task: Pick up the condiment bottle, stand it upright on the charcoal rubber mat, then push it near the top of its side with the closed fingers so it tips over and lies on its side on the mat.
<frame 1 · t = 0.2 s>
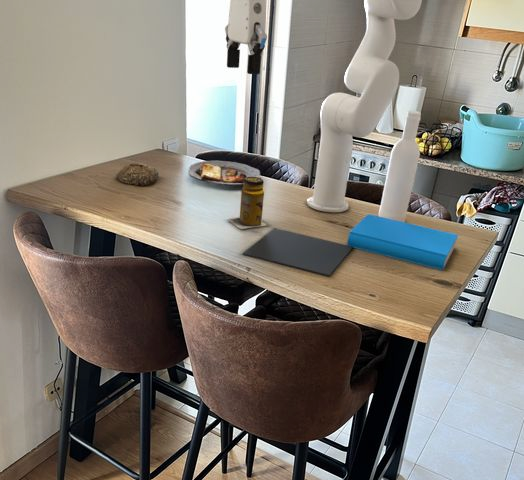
hand: (242, 70, 135), 37 cm above the table, tool pointing down, fingers open, 9 cm apart
mat: (299, 251, 140), on the table
bread roll: (137, 180, 178), on the table
bottle: (390, 221, 165), on the table
book: (401, 248, 148), on the table
food plate: (224, 179, 186), on the table
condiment: (247, 223, 153), on the table
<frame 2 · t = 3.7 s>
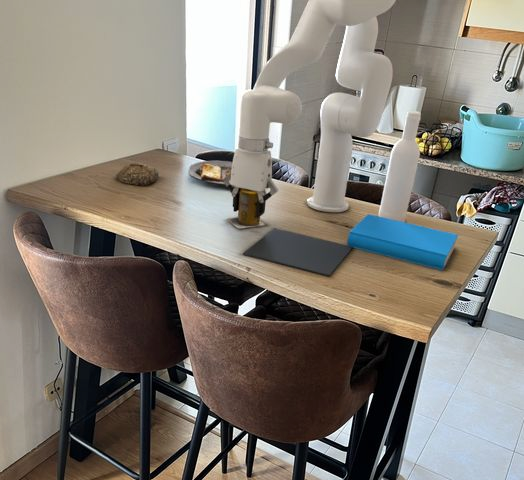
hand: (248, 212, 152), 3 cm above the table, tool pointing down, fingers closed on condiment, 6 cm apart
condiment: (245, 223, 154), on the table, touching gripper
everything else where it was.
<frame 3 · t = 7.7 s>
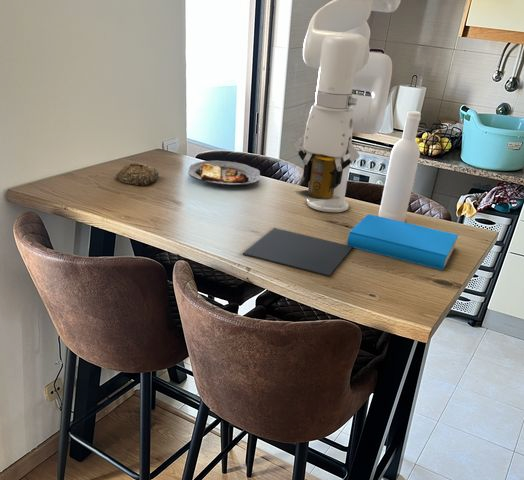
hand: (321, 183, 131), 17 cm above the table, tool pointing down, fingers closed on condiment, 6 cm apart
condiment: (316, 196, 133), point 14 cm above the table, touching gripper
everything else where it was.
when the fingers open (3 cm above the table, at t = 11.5 s): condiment stays where it is, resting on mat.
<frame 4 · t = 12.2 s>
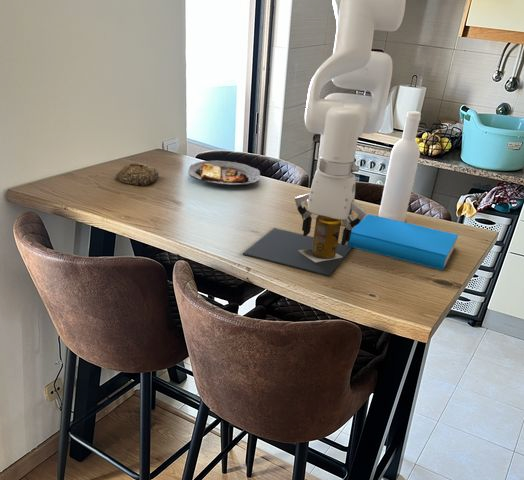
hand: (325, 238, 136), 5 cm above the table, tool pointing down, fingers open, 9 cm apart
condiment: (320, 255, 138), resting on mat
everything else where it was.
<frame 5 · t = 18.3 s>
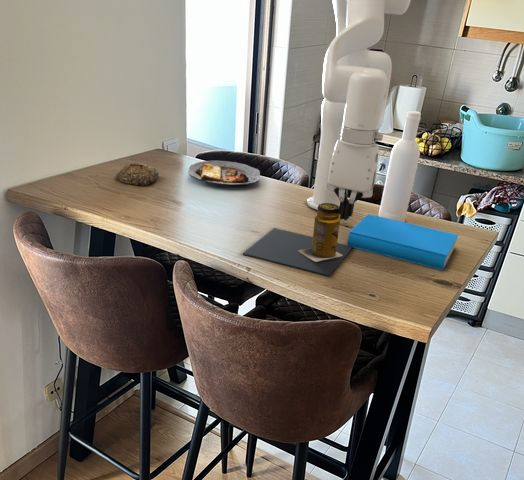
hand: (344, 218, 131), 11 cm above the table, tool pointing down, fingers closed
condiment: (320, 254, 138), resting on mat, touching gripper
everything else where it was.
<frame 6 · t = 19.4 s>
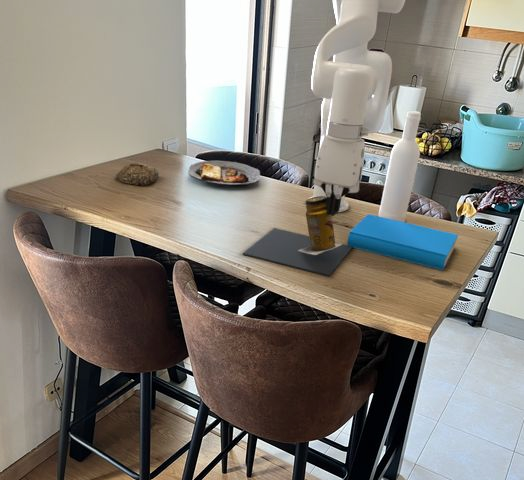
hand: (331, 213, 131), 11 cm above the table, tool pointing down, fingers closed
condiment: (320, 249, 138), point 2 cm above the table, touching gripper, mat
everything else where it was.
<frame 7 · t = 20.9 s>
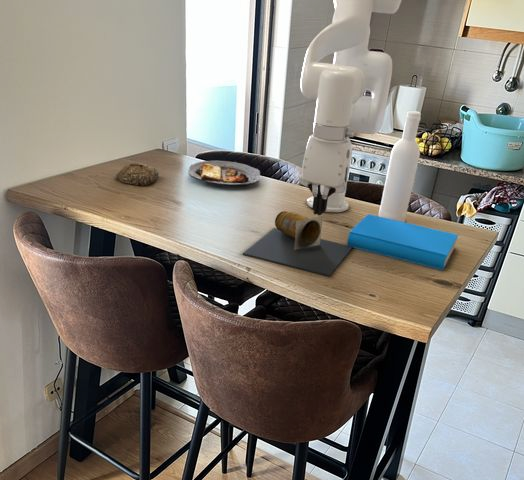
hand: (318, 213, 133), 11 cm above the table, tool pointing down, fingers closed
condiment: (309, 233, 139), point 4 cm above the table, touching mat
everything else where it was.
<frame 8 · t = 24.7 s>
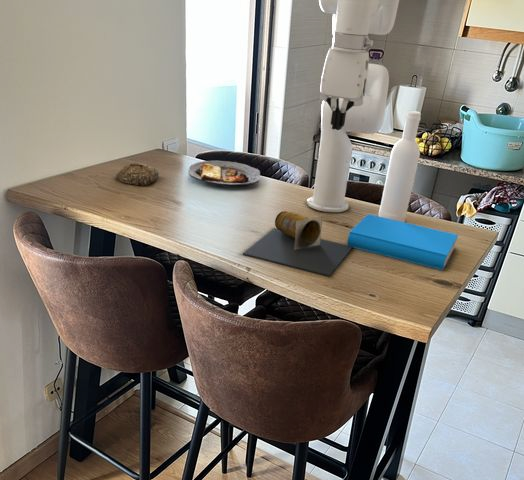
hand: (336, 128, 136), 27 cm above the table, tool pointing down, fingers closed
nothing on the table moved.
at the end: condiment tilted 96°; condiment inside the target area on the mat (2.6 cm from its centre), point 4.1 cm above the mat's base; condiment touching mat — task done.
